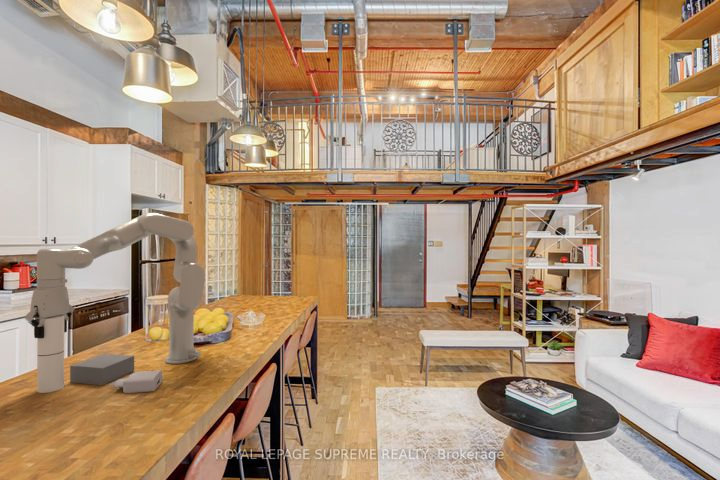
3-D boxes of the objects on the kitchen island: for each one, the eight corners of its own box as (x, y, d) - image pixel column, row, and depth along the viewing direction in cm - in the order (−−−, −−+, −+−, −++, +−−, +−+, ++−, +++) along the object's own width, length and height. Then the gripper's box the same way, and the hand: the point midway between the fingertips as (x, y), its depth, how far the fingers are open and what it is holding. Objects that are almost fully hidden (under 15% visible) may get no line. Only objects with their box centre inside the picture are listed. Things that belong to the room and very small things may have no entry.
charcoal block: (134, 371, 143) (134, 355, 143) (103, 385, 129) (103, 368, 129) (103, 368, 145) (103, 353, 145) (70, 382, 131) (70, 365, 131)
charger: (116, 385, 129) (162, 382, 132) (104, 396, 120) (153, 392, 123) (116, 372, 129) (162, 369, 132) (104, 382, 120) (153, 378, 123)
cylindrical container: (34, 394, 121) (34, 319, 121) (40, 386, 127) (41, 315, 127) (61, 390, 124) (61, 317, 124) (66, 383, 130) (66, 314, 130)
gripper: (66, 281, 135) (66, 328, 135) (14, 286, 118) (14, 341, 118) (83, 281, 134) (83, 329, 134) (33, 287, 116) (33, 342, 116)
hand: (51, 334), depth 126 cm, fingers closed on cylindrical container, 7 cm apart
